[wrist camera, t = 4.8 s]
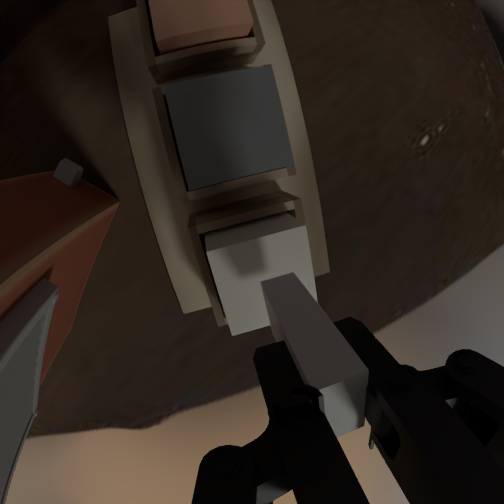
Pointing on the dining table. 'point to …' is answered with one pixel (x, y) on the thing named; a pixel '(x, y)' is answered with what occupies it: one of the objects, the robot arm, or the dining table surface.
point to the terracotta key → (198, 22)
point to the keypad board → (168, 158)
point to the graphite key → (229, 126)
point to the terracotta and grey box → (41, 286)
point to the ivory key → (256, 265)
